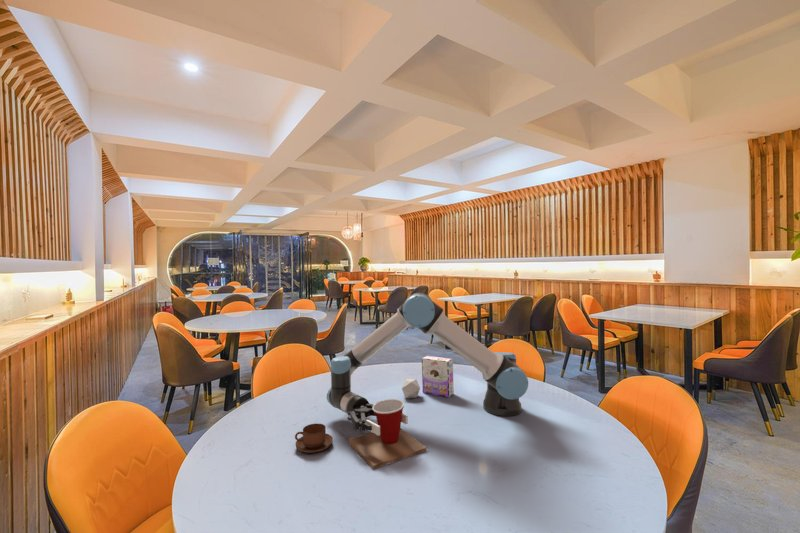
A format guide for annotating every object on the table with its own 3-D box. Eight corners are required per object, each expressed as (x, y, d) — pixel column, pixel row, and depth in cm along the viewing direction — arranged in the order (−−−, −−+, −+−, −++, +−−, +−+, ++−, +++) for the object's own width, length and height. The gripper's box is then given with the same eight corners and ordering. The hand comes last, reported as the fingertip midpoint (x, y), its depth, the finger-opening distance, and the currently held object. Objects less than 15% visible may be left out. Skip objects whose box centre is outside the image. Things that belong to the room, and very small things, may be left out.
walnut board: (396, 428, 128) (396, 425, 128) (426, 450, 112) (426, 447, 112) (347, 442, 119) (347, 439, 119) (373, 469, 102) (373, 465, 102)
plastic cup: (372, 434, 122) (370, 399, 122) (402, 430, 124) (401, 396, 124) (374, 450, 111) (373, 412, 111) (408, 446, 113) (406, 409, 113)
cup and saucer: (299, 460, 108) (299, 440, 108) (292, 443, 119) (292, 425, 119) (337, 450, 113) (337, 431, 113) (327, 435, 124) (327, 417, 124)
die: (414, 403, 154) (425, 383, 157) (397, 392, 155) (408, 373, 158) (413, 403, 161) (423, 384, 164) (397, 393, 163) (407, 374, 166)
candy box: (454, 394, 163) (453, 358, 163) (448, 398, 158) (448, 361, 158) (427, 388, 170) (427, 354, 170) (421, 392, 165) (421, 357, 165)
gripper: (380, 407, 137) (419, 425, 120) (327, 425, 121) (363, 449, 105) (380, 388, 137) (419, 403, 120) (326, 403, 121) (363, 424, 105)
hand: (393, 425), depth 112 cm, fingers open, 11 cm apart
